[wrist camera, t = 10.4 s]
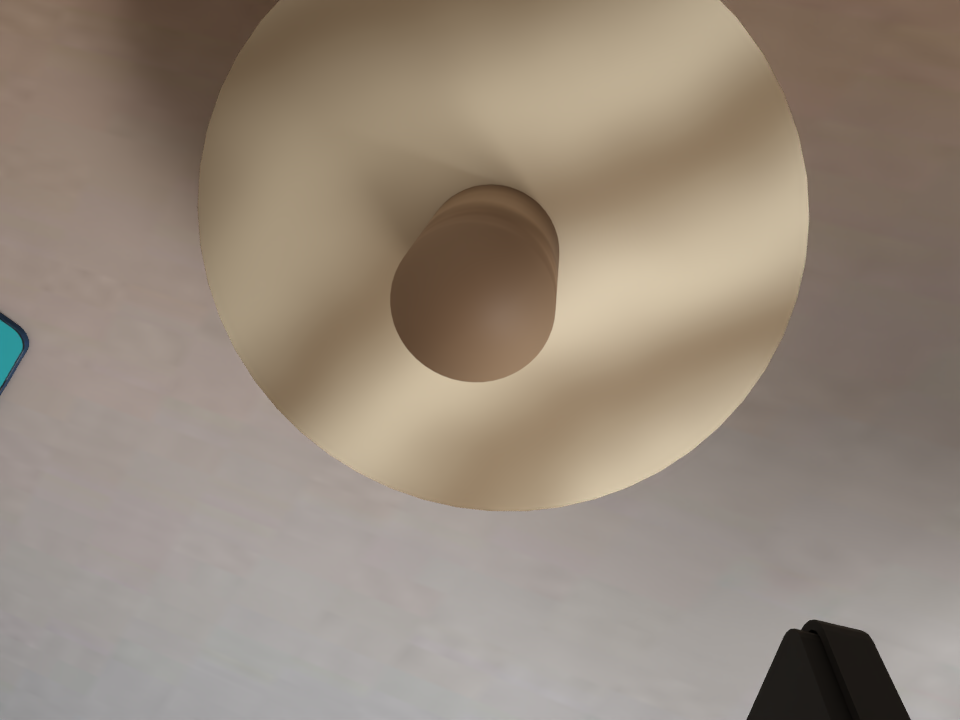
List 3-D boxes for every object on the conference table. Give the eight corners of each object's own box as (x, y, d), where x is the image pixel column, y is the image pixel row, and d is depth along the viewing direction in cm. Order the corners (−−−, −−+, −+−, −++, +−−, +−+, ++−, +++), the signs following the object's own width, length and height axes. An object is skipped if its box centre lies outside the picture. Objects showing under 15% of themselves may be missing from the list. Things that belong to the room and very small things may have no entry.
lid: (913, 307, 24) (1012, 391, 19) (448, 577, 30) (420, 701, 24) (563, -257, 20) (559, -363, 14) (96, 183, 26) (-35, 227, 20)
